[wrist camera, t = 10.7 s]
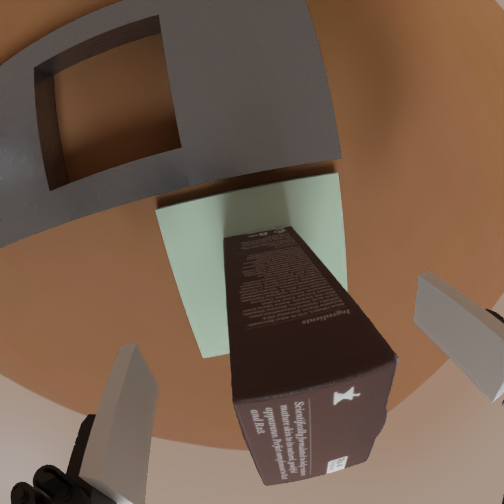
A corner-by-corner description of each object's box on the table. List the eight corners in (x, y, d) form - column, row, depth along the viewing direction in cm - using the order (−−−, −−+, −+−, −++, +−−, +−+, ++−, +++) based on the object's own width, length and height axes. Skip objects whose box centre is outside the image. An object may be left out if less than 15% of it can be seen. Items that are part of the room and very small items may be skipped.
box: (216, 237, 17) (227, 403, 5) (291, 223, 17) (416, 349, 6) (235, 322, 19) (263, 492, 7) (300, 309, 19) (378, 458, 8)
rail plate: (2, 243, 15) (-16, 255, 13) (-21, 101, 11) (-40, 100, 8) (324, 157, 16) (341, 158, 14) (286, -8, 12) (296, -26, 10)
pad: (203, 353, 20) (203, 358, 19) (157, 208, 16) (155, 209, 16) (344, 319, 21) (347, 323, 20) (334, 172, 17) (338, 173, 16)
